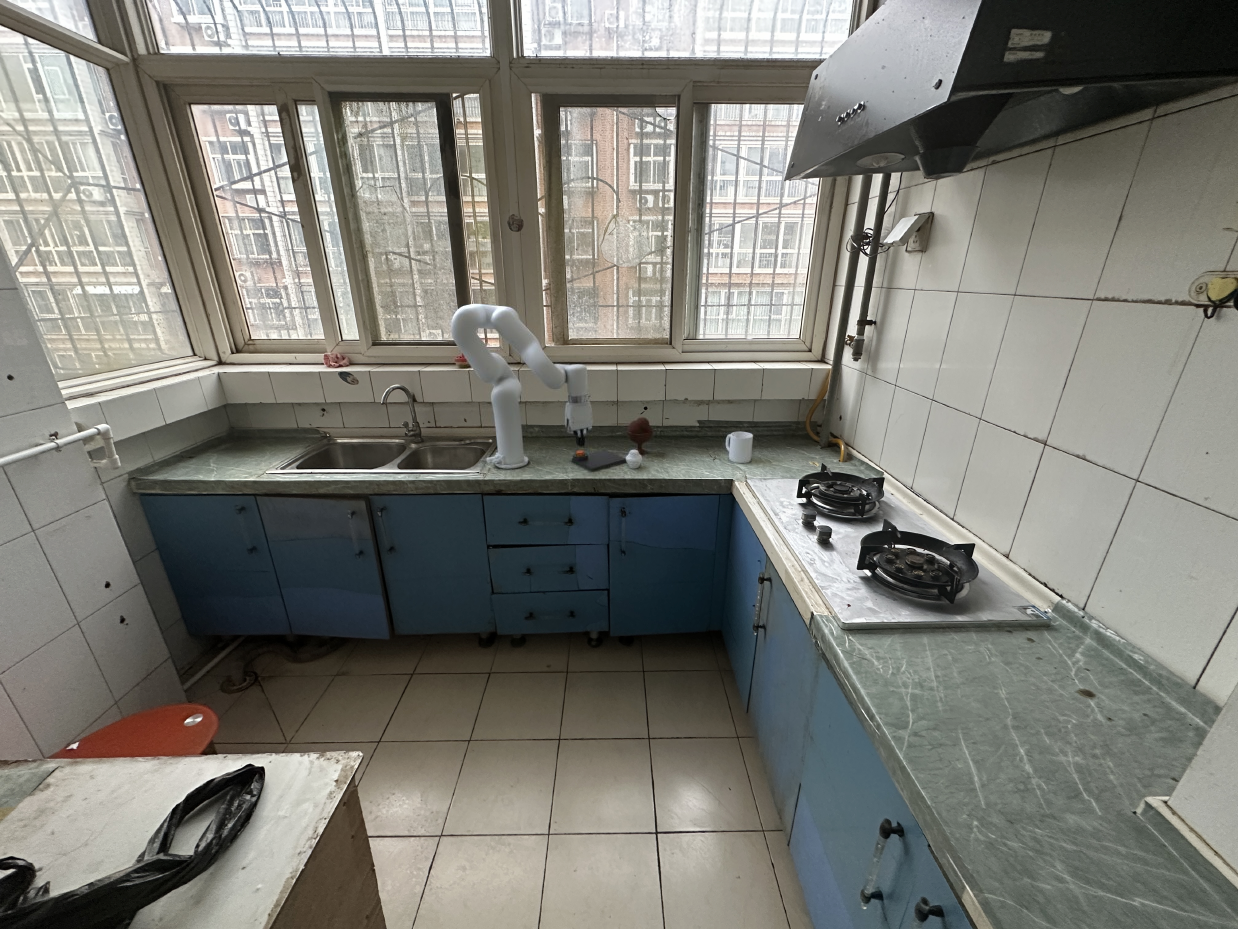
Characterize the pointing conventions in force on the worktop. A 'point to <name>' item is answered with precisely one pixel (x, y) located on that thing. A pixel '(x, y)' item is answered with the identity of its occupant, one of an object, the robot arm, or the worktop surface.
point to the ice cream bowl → (640, 433)
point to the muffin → (634, 459)
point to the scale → (598, 460)
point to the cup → (739, 446)
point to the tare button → (580, 453)
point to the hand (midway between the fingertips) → (580, 445)
